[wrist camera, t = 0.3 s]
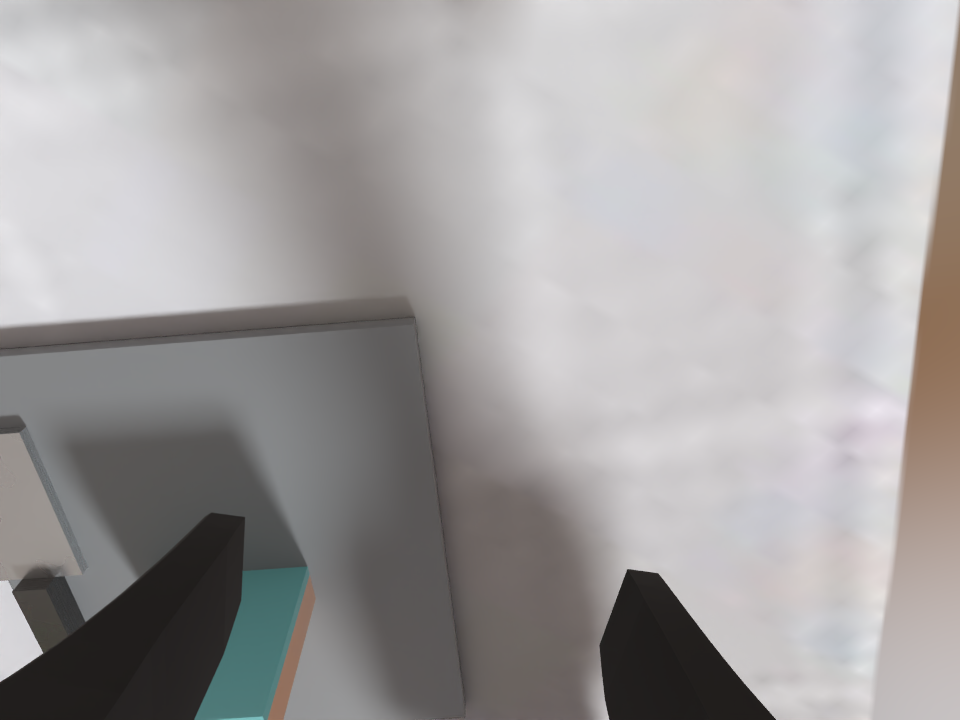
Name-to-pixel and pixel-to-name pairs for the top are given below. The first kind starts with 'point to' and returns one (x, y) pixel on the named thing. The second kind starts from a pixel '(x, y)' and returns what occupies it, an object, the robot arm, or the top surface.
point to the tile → (262, 647)
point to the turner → (36, 541)
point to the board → (264, 487)
